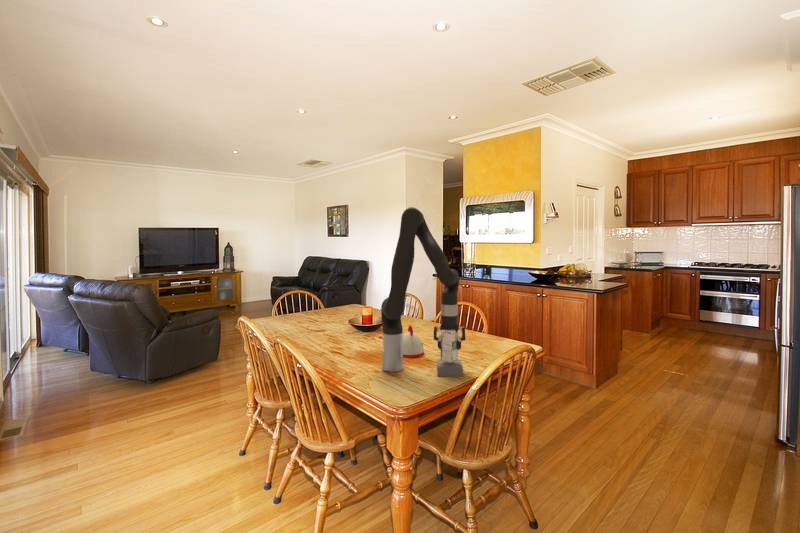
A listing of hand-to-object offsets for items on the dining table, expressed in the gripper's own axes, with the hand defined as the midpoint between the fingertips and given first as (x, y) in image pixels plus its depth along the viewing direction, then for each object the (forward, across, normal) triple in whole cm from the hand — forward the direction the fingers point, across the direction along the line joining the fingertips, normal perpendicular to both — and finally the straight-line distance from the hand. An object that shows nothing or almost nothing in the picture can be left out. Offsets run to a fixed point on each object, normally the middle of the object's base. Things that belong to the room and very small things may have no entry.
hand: (449, 349), depth 176 cm
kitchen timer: (+11, -19, +26) cm, 34 cm away
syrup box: (+5, 0, 0) cm, 5 cm away
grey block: (+11, 0, 0) cm, 11 cm away
